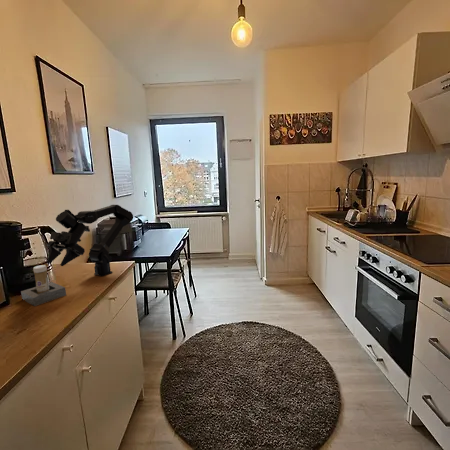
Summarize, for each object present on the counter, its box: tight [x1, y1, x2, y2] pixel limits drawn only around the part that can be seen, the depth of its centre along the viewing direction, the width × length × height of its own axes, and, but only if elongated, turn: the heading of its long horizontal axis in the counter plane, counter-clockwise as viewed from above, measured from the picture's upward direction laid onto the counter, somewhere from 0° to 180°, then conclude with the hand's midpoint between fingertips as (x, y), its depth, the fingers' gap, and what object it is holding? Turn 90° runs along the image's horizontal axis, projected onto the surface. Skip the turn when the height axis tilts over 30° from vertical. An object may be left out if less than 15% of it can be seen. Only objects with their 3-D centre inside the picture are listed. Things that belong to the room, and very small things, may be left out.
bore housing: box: [20, 281, 67, 307], centre depth 119 cm, size 12×12×4 cm
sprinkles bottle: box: [32, 264, 50, 294], centre depth 118 cm, size 5×5×13 cm
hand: (54, 264), depth 122 cm, fingers open, 9 cm apart
